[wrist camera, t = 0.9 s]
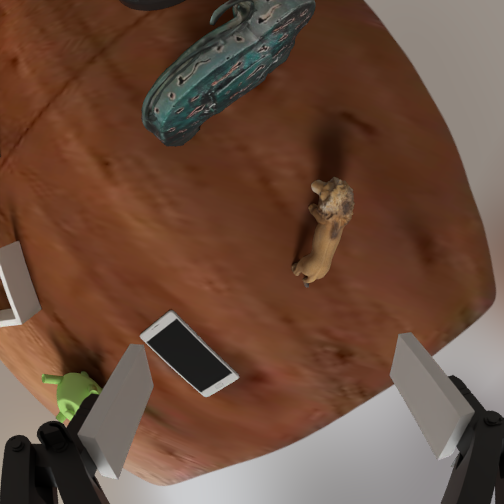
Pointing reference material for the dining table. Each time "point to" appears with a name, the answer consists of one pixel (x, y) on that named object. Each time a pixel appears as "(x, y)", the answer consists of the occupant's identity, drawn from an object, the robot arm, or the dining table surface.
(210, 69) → the teal arched figure
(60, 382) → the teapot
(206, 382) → the smartphone
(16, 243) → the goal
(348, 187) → the lion figurine
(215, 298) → the dining table surface
